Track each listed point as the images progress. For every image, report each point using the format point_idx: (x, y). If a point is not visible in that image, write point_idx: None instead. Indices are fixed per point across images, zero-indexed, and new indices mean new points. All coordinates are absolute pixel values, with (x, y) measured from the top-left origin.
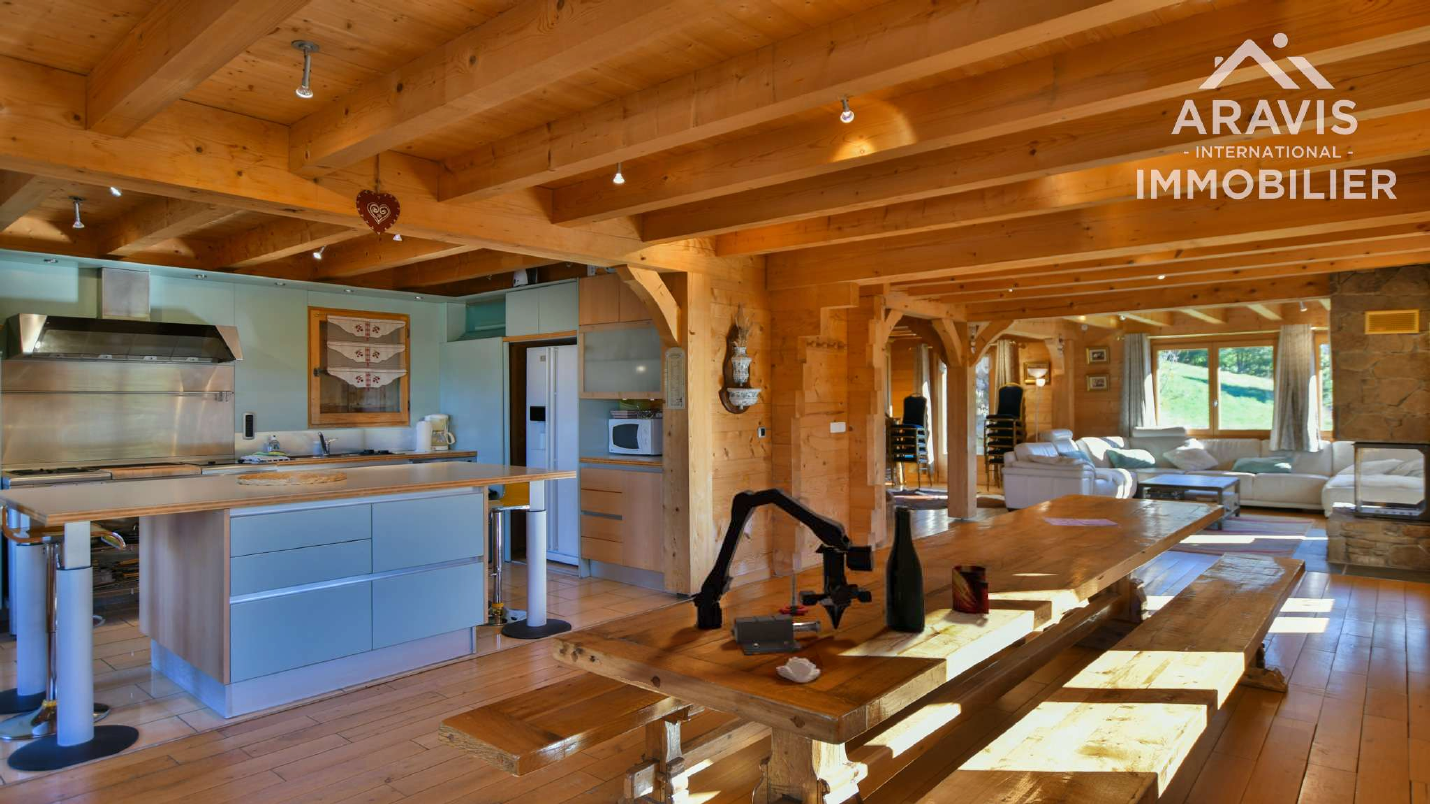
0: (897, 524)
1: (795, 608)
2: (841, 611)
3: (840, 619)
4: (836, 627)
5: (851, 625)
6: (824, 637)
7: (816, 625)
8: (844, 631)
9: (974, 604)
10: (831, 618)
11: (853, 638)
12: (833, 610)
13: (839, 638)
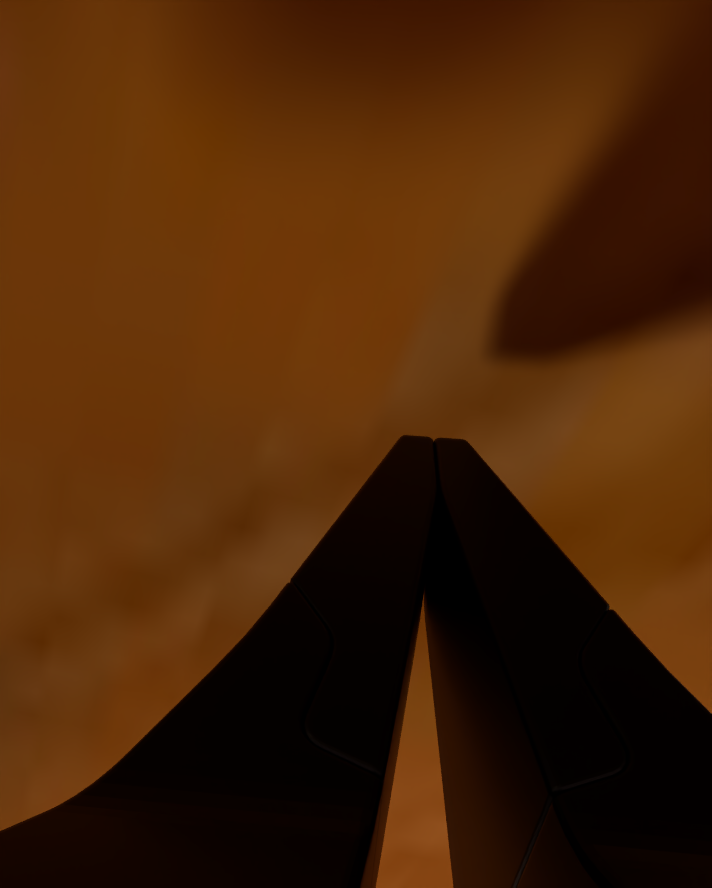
0: None
1: None
2: (241, 751)
3: (320, 543)
4: (426, 450)
5: (88, 672)
6: (690, 328)
7: None
8: (230, 512)
9: None
10: (603, 603)
11: (156, 95)
12: (642, 852)
13: (444, 182)
